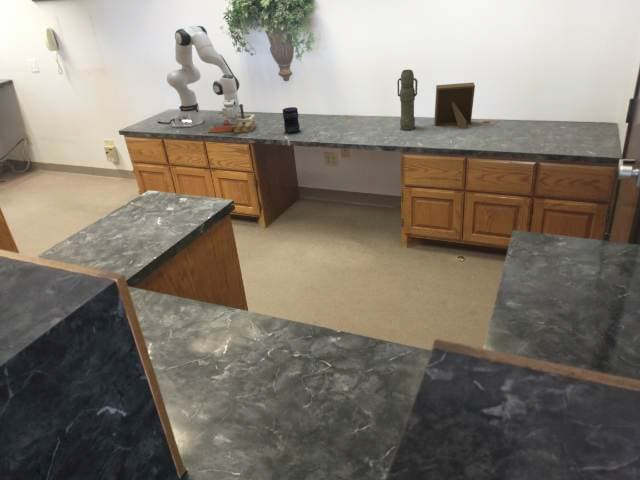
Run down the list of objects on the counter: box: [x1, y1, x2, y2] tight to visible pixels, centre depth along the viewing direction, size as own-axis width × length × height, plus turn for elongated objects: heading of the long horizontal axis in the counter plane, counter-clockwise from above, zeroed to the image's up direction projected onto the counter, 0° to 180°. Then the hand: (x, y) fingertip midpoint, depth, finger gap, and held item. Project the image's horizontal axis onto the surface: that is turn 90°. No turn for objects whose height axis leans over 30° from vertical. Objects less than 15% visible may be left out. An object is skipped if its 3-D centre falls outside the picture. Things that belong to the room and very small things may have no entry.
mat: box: [208, 125, 235, 134], centre depth 353 cm, size 16×14×1 cm
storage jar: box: [282, 106, 301, 135], centre depth 328 cm, size 10×10×15 cm
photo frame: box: [433, 82, 476, 129], centre depth 307 cm, size 15×22×25 cm
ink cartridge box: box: [221, 101, 236, 125], centre depth 362 cm, size 9×5×15 cm, turn 84°
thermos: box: [397, 69, 419, 131], centre depth 308 cm, size 9×12×35 cm
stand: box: [233, 103, 256, 134], centre depth 343 cm, size 12×12×18 cm
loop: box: [231, 113, 256, 123], centre depth 344 cm, size 14×14×2 cm
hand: (235, 121), depth 339 cm, fingers closed on loop, 2 cm apart
